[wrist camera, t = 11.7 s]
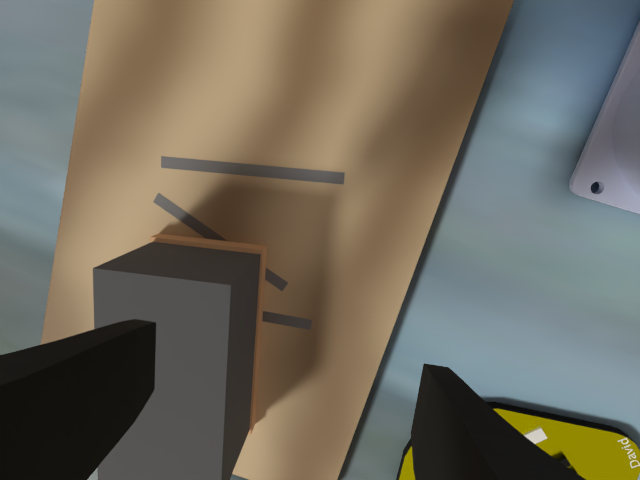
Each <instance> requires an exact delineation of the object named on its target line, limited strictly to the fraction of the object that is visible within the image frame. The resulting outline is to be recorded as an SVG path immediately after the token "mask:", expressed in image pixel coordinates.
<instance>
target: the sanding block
mask: <svg viewBox="0 0 640 480" xmlns="http://www.w3.org/2000/svg"><path fill="white" fill-rule="evenodd" d="M266 258H267V246H264V245H256V244H247V243H238V242H229V241H221V240H212V239H203V238H195V237H186V236H177V235H168V234H160V233H158V234H156V235H154V236H151V237H150V243H148V244H146V245H144V246H142V247H139V248H137V249H135V250H133V251H130V252H128V253H126V254H124V255H121V256H119V257H117V258H115V259H112V260H110V261H108V262H106V263H103V264H101V265H99V266H97V267H94V268H93V300H94V329H97V328H100V327H103V326H107V325H110V324H114V323H118V322H122V321H126V320H132V319H138V320H145V321H151V322H156V352H155V389H154V391H153V393H152V395H151V396H150V398H149V400H148V402H147V403H146V405H145V407H144V408H143V410H142V411H141V413H140V414H139V416H138V417H137V419H136V421H135V422H134V423H133V425H132V426H131V427H130V428H129V430H128V431H127V432H126V433H125V434H124V436H123V437H122V438H121V439H120V441H119V442H118V443H117V444H116V445H115V447H114V448H113V449H112V450H111V451H110V453H109V454H108V455H107V456H106V457H105V459H104V460H103V461H102V462H101V463H100V465H99V466H98V480H230V477H231V475H232V472H233V470H234V467H235V465H236V462H237V460H238V457H239V455H240V453H241V450H242V448H243V445H244V443H245V440H246V438H247V435H248V434H250V435H251V434H252V431H253V429H254V426H255V421H256V406H257V391H258V376H259V362H260V347H261V332H262V317H263V302H264V288H265V273H266Z"/></svg>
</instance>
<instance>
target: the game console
mask: <svg viewBox="0 0 640 480" xmlns="http://www.w3.org/2000/svg"><path fill="white" fill-rule="evenodd" d="M486 403H487V404H488V405H489V406H490V407H491V408H492V409H493V410H495V411H496V412H497V413H498V414H499V415H500V416H501V417H502V418H504V419H505V420H506V421H507V422H508V423H509V424H511V425H512V426H513V427H514V428H515V429H517V430H518V431H519V432H520V433H522V434H523V435H524V436H525V437H526V438H528V439H529V440H530V441H531V442H533V443H534V444H535V445H537V446H538V447H539V448H541V449H542V450H543V451H545V452H546V453H548V454H549V455H551V456H552V457H553V458H555V459H556V460H558V461H559V462H560V463H562V464H563V465H565V466H566V467H568V468H569V469H571V470H572V471H574V472H575V473H577V474H578V475H580V476H581V477H583V478H584V479H586V480H637V478H638V476H639V473H640V450H639V449H638V447H637V446H636V444H635V443H634V442H633V441H632V440H631V438H630V437H629V436H628V435H626V434H625V433H624V432H622V431H621V430H620V429H617V428H614V427H611V426H608V425H603V424H598V423H593V422H588V421H584V420H579V419H574V418H569V417H564V416H560V415H555V414H550V413H545V412H540V411H535V410H531V409H526V408H521V407H516V406H511V405H507V404H502V403H497V402H486ZM396 480H415V475H414V470H413V457H412V440H411V439H410V440H409V442H408V444H407V445H406V447H405V449H404V451H403V455H402V459H401V463H400V467H399V471H398V475H397V479H396Z"/></svg>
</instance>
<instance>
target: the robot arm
mask: <svg viewBox="0 0 640 480" xmlns="http://www.w3.org/2000/svg"><path fill="white" fill-rule="evenodd" d="M595 182H598V184H599V189H598V190H597V192H595V193H592V192H591V185H592V184H593V183H595ZM569 188H570V190H571V191H572V193H574V194H576V195H578V196H581V197H585V198H588V199H591V200H595V201H598V202H601V203H604V204H608V205H611V206H614V207H617V208H621V209H624V210H627V211H630V212H634V213H637V214H640V21H639V23H638V26H637V28H636V30H635V33H634V35H633V37H632V39H631V42H630V44H629V46H628V49H627V51H626V53H625V55H624V58H623V60H622V62H621V65H620V67H619V69H618V71H617V74H616V76H615V78H614V81H613V83H612V85H611V87H610V90H609V92H608V94H607V97H606V99H605V101H604V103H603V106H602V108H601V110H600V113H599V115H598V117H597V119H596V122H595V124H594V126H593V129H592V131H591V133H590V135H589V138H588V140H587V142H586V145H585V147H584V149H583V151H582V154H581V156H580V158H579V161H578V163H577V165H576V167H575V170H574V172H573V174H572V177H571V179H570V182H569ZM155 352H156V322H151V321H145V320H138V319H132V320H126V321H122V322H118V323H114V324H110V325H107V326H103V327H100V328H97V329H93V330H90V331H87V332H83V333H80V334H77V335H73V336H70V337H67V338H63V339H60V340H57V341H53V342H49V343H46V344H42V345H38V346H35V347H31V348H27V349H24V350H20V351H16V352H12V353H8V354H4V355H0V480H87V479H88V478H89V477H90V475H91V474H92V473H93V472H94V471H95V469H96V468H97V467H98V466H99V465H100V463H101V462H102V461H103V460H104V459H105V457H106V456H107V455H108V454H109V453H110V451H111V450H112V449H113V448H114V447H115V445H116V444H117V443H118V442H119V441H120V439H121V438H122V437H123V436H124V434H125V433H126V432H127V431H128V430H129V428H130V427H131V426H132V425H133V423H134V422H135V421H136V419H137V417H138V416H139V414H140V413H141V411H142V410H143V408H144V407H145V405H146V403H147V402H148V400H149V398H150V396H151V395H152V393H153V391H154V389H155ZM411 440H412V457H413V470H414V475H415V480H586V479H584V478H583V477H581V476H580V475H578V474H577V473H575V472H574V471H572V470H571V469H569V468H568V467H566V466H565V465H563V464H562V463H560V462H559V461H558V460H556V459H555V458H553V457H552V456H551V455H549V454H548V453H546V452H545V451H543V450H542V449H541V448H539V447H538V446H537V445H535V444H534V443H533V442H531V441H530V440H529V439H528V438H526V437H525V436H524V435H523V434H522V433H520V432H519V431H518V430H517V429H515V428H514V427H513V426H512V425H511V424H509V423H508V422H507V421H506V420H505V419H504V418H502V417H501V416H500V415H499V414H498V413H497V412H496V411H495V410H493V409H492V408H491V407H490V406H489V405H488V404H487V403H486V402H485V401H484V400H483V399H482V398H481V397H479V396H478V395H477V394H476V393H475V392H474V391H473V390H472V389H471V388H470V387H469V386H468V385H467V384H466V383H465V382H464V381H463V380H462V379H461V378H460V377H459V376H457V375H456V374H455V373H454V372H453V371H452V370H451V369H449V368H448V367H443V366H436V365H430V364H424V365H423V371H422V376H421V382H420V387H419V393H418V398H417V403H416V409H415V414H414V420H413V425H412V431H411Z"/></svg>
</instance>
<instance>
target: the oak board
mask: <svg viewBox="0 0 640 480" xmlns="http://www.w3.org/2000/svg"><path fill="white" fill-rule="evenodd" d="M513 2H514V1H513V0H94V6H93V13H92V19H91V25H90V32H89V38H88V45H87V51H86V57H85V64H84V70H83V77H82V83H81V89H80V96H79V102H78V109H77V115H76V121H75V128H74V134H73V141H72V147H71V153H70V160H69V166H68V173H67V179H66V185H65V192H64V198H63V205H62V211H61V217H60V224H59V230H58V237H57V243H56V249H55V256H54V262H53V269H52V275H51V282H50V288H49V294H48V301H47V307H46V314H45V320H44V326H43V333H42V339H41V345H42V344H46V343H49V342H53V341H57V340H60V339H63V338H67V337H70V336H73V335H77V334H80V333H83V332H87V331H90V330H93V329H94V300H93V268H94V267H97V266H99V265H101V264H103V263H106V262H108V261H110V260H112V259H115V258H117V257H119V256H121V255H124V254H126V253H128V252H130V251H133V250H135V249H137V248H139V247H142V246H144V245H146V244H148V243H150V237H151V236H154V235H156V234H158V233H160V234H168V235H177V236H186V237H195V238H203V239H212V240H221V241H229V242H238V243H247V244H256V245H264V246H267V258H266V273H265V288H264V302H263V317H262V332H261V347H260V362H259V376H258V391H257V406H256V421H255V426H254V429H253V431H252V434H251V435H250V434H248V435H247V438H246V440H245V443H244V445H243V448H242V450H241V453H240V455H239V457H238V460H237V462H236V465H235V467H234V470H233V472H232V474H234V475H237V476H240V477H243V478H246V479H249V480H337V479H338V476H339V473H340V471H341V468H342V465H343V462H344V460H345V457H346V454H347V452H348V449H349V446H350V444H351V441H352V438H353V435H354V433H355V430H356V427H357V425H358V422H359V419H360V416H361V414H362V411H363V408H364V406H365V403H366V400H367V397H368V395H369V392H370V389H371V387H372V384H373V381H374V379H375V376H376V373H377V370H378V368H379V365H380V362H381V360H382V357H383V354H384V351H385V349H386V346H387V343H388V341H389V338H390V335H391V333H392V330H393V327H394V324H395V322H396V319H397V316H398V314H399V311H400V308H401V305H402V303H403V300H404V297H405V295H406V292H407V289H408V286H409V284H410V281H411V278H412V276H413V273H414V270H415V268H416V265H417V262H418V259H419V257H420V254H421V251H422V249H423V246H424V243H425V240H426V238H427V235H428V232H429V230H430V227H431V224H432V222H433V219H434V216H435V213H436V211H437V208H438V205H439V203H440V200H441V197H442V194H443V192H444V189H445V186H446V184H447V181H448V178H449V175H450V173H451V170H452V167H453V165H454V162H455V159H456V157H457V154H458V151H459V148H460V146H461V143H462V140H463V138H464V135H465V132H466V129H467V127H468V124H469V121H470V119H471V116H472V113H473V111H474V108H475V105H476V102H477V100H478V97H479V94H480V92H481V89H482V86H483V83H484V81H485V78H486V75H487V73H488V70H489V67H490V64H491V62H492V59H493V56H494V54H495V51H496V48H497V46H498V43H499V40H500V37H501V35H502V32H503V29H504V27H505V24H506V21H507V18H508V16H509V13H510V10H511V8H512V5H513Z"/></svg>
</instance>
